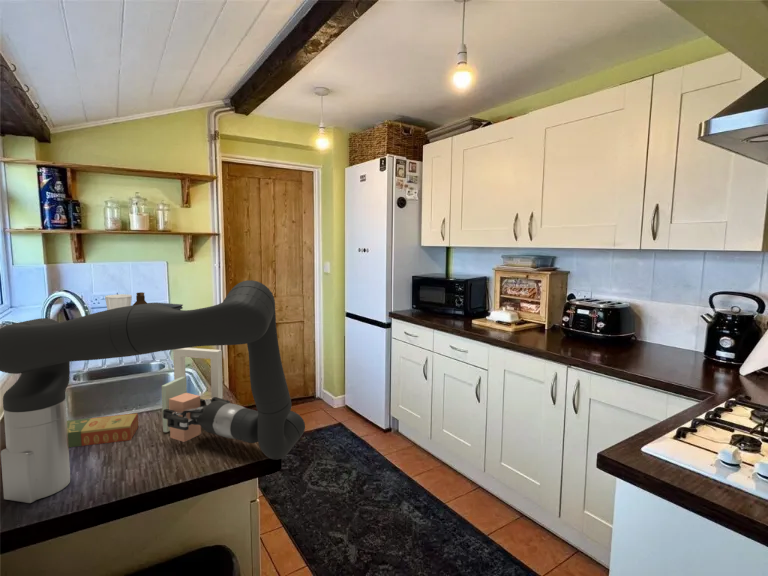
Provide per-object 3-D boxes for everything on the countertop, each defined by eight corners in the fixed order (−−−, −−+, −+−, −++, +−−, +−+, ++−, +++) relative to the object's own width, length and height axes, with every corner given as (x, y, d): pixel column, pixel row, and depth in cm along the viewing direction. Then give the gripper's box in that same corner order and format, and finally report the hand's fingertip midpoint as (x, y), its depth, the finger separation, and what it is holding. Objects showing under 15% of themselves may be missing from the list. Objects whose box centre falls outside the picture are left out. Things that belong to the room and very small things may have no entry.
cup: (108, 336, 215) (106, 294, 213) (134, 334, 220) (133, 293, 218) (104, 341, 205) (102, 297, 203) (132, 339, 209) (130, 296, 207)
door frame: (218, 424, 113) (217, 351, 111) (175, 420, 115) (173, 348, 113) (223, 421, 115) (221, 350, 113) (180, 417, 117) (178, 347, 115)
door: (163, 431, 107) (161, 385, 106) (183, 419, 115) (182, 376, 114) (167, 432, 107) (165, 386, 106) (187, 419, 114) (186, 376, 113)
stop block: (184, 442, 103) (183, 402, 102) (170, 437, 105) (168, 398, 104) (201, 433, 107) (200, 395, 106) (187, 429, 109) (186, 392, 108)
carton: (131, 441, 103) (130, 425, 103) (52, 451, 98) (51, 433, 97) (139, 427, 111) (138, 411, 110) (66, 435, 106) (65, 419, 105)
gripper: (248, 395, 105) (202, 384, 112) (201, 415, 93) (152, 402, 99) (249, 423, 106) (203, 411, 113) (202, 447, 93) (154, 432, 100)
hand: (179, 407), depth 106 cm, fingers open, 8 cm apart
